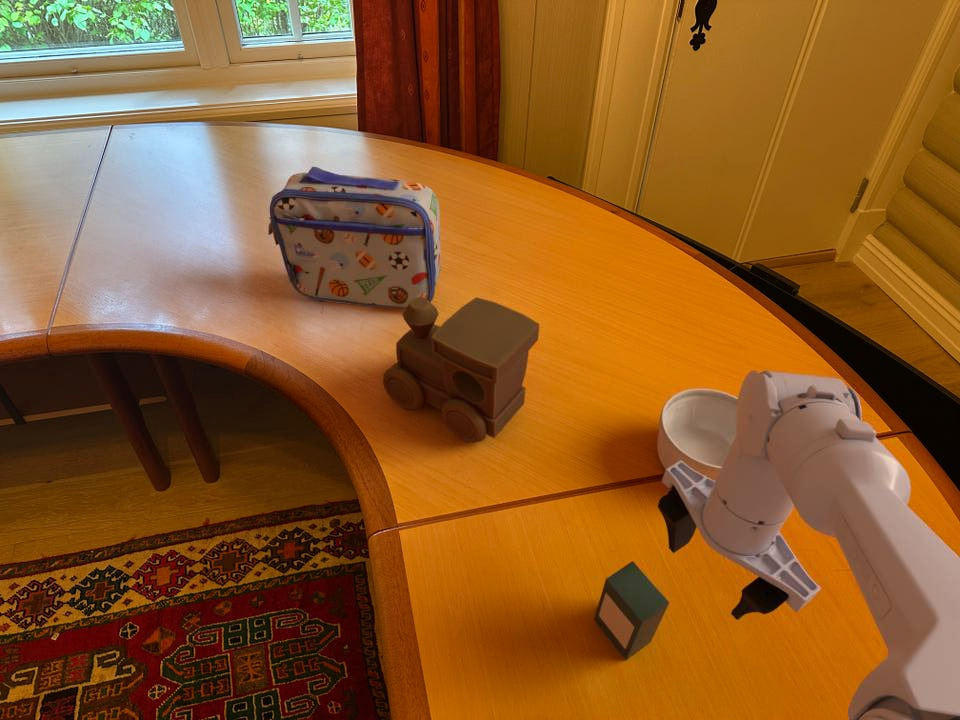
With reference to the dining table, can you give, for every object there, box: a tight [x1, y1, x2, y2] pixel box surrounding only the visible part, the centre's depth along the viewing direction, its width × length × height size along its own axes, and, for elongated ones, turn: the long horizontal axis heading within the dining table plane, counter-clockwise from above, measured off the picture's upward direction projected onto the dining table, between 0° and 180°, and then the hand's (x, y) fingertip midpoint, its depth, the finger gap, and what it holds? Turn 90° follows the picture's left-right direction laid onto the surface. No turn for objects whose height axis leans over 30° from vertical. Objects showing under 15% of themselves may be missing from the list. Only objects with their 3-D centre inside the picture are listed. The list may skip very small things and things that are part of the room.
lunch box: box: [267, 166, 442, 310], centre depth 98 cm, size 28×10×22 cm, turn 82°
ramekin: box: [656, 387, 738, 481], centre depth 77 cm, size 13×13×7 cm
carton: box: [593, 560, 670, 661], centre depth 60 cm, size 9×5×4 cm
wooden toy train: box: [382, 296, 540, 444], centre depth 81 cm, size 20×11×17 cm, turn 55°
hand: (708, 577), depth 57 cm, fingers open, 7 cm apart
